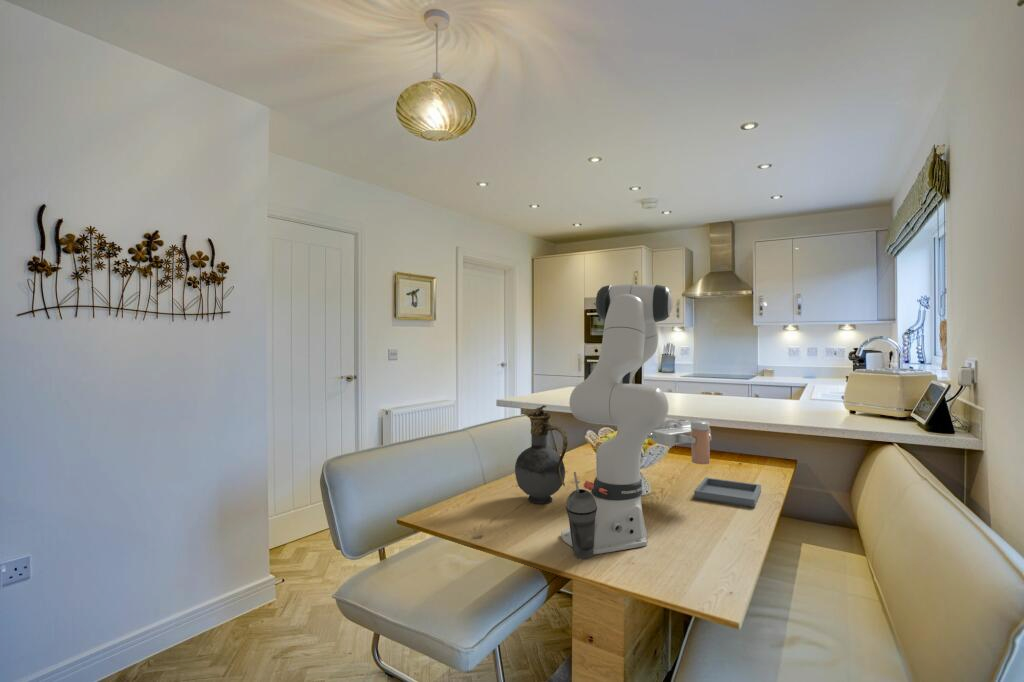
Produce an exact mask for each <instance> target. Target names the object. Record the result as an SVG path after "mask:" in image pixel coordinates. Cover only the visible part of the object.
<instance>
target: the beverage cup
mask: <svg viewBox="0 0 1024 682" xmlns="http://www.w3.org/2000/svg"><path fill="white" fill-rule="evenodd" d="M573 476H574V483H575V490H574V491H572V492H571V493H570V494H569V495H568V497H567V499H566V505H565V509H566V513H567V517H568V521H569V522H568V523H569V528H570V531H571V539H572V546H573V547H572V546H571V547H572V550H573V555H574V556H575V557H574V558H577V559H582V560H587V559H591V558H592V557H593V555H594V554H593V549H594V533H595V517H596V512H597V505H596V501H595V498H594V497H593V495H592V494H591V491H589V490H588V489H585V488H584V489H583V488H579V484H578V483H579V482H578V477H577V473H576V471H574V472H573Z"/></svg>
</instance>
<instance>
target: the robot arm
mask: <svg viewBox="0 0 1024 682" xmlns="http://www.w3.org/2000/svg"><path fill="white" fill-rule="evenodd" d="M594 305H595V309H596V313H597V315H598V316H599V317H600V318H601V319H602V320H604V324H603V325H604V327H603V334H602V342H601V346H600V347H601V348H600V353H599V357H598V361H597V362H596V365H595V367H594V368H593V370H592V372H591V373H590V374H589V375H588V377H586V378H585V380H583V381H582V382H580V383H579V384H577V385H576V386H575V387H574V389H573V390H572V392H571V393H570V396H569V402H568V403H569V408H570V412H571V414H572V415H573V417H574V418H575V419H577V420H578V421H582V422H585V423H589V424H593V425H603V426H615V427H616V429H617V430H616V435H615V436H613V437H611V438H608V439H606V440H605V441H603V442H602V443H600V444H599V445H598V447H597V449H596V453H595V455H596V458H595V459H596V462H595V463H596V477H595V478H594V480H593V482H592V481H589V480H585V481H584V483H583V488H584V489H585V490H587V491H590V493H591V494H592V495H593V497H594V498H595V501H596V505H597V512H596V517H595V533H594V549H593V555H599V554H605V553H611V552H612V553H613V552H617V551H618V552H619V551H624V550H628V549H634V548H641V547H646V546H648V541H647V538H648V531H647V528H646V525H645V524H646V523H645V520H644V514H643V513H644V512H643V507H642V505H643V504H642V498H641V496H642V495H643V484H642V479H641V475H640V474H641V455H642V449H643V445H644V443H645V442H646V441H645V439H646V438H647V439H651V440H652V441H653V443H654V442H655V444H657V443H658V444H657V445H660V444H661V446H665V445H666V446H665V447H669V448H670V447H673V446H676V445H679V444H680V445H681V444H687V443H689V444H692V443H697V437H694V436H691V422H690V420H686V419H673V418H667V417H668V414H669V401H668V397H667V396H666V394H665V392H664V391H663V390H662V389H661V388H659V387H656V386H652V385H647V384H642V383H633V379H634V377H635V375H636V374H637V372H638V370H639V369H640V368H641V367H642V366H643V365H644V364H645V363H646V362H647V361H649V360H650V359H651V358H652V357H653V356H654V355H655V353H656V352H657V349H658V345H659V329H658V328H659V327H658V322H663V321H666V320H667V319H668V318H669V317H670V315H671V313H672V311H673V308H674V299H673V295H672V293H671V290H670V289H669V288H668V287H667V286H664V285H660V284H655V285H651V284H634V283H625V284H616V285H615V284H614V285H613V284H610V285H605V286H601V288H600V289H599V290H598V291H597V293H596V297H595V302H594ZM711 434H712V430H711V428H710V430H709V442H711V441H712V437H713V436H712V435H711ZM560 534H561V535H560V537H561V539H562V540H563V542H565V543H566V544H567V545H569V546H570V547H572V548H573V546H572V539H571V531H570V527H568V528H567V529H564V530H562V531H561V533H560Z"/></svg>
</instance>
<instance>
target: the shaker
mask: <svg viewBox="0 0 1024 682" xmlns="http://www.w3.org/2000/svg"><path fill="white" fill-rule="evenodd" d="M690 423H691V436H694V437H697V443H691V462H692V464H696V465H709V464H711V463H710V461H711V460H710V459H711V458H710V456H711V455H710V454H711V453H710V452H711V451H710V441H709V430H710V429H711V428H710V425H711V424H710V422H709V421H706V420H705V421H704V420H692V421H690Z"/></svg>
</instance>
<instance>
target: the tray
mask: <svg viewBox="0 0 1024 682" xmlns="http://www.w3.org/2000/svg"><path fill="white" fill-rule="evenodd" d="M760 493H762V485H761V484H757V483H750V482H742V481H737V480H735V481H734V480H729V479H720V478H712V477H704V478H703V480H702V481H701V482H700V484H698V485H697V487H696V488H695V489H694V493H693V494H694V495H693V496H694V499H695V500H699V499H700V500H701V501H706V500H707V502H713V503H718V502H719V504H725V503H727V505H731V504H734V505H733V506H737V505H740V507H744V506H746V507H745V508H750V507H752V508H751V509H755V508H756V506H757V504H758V501H759V499H758V498H760V496H761V494H760ZM756 503H757V504H756Z"/></svg>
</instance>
